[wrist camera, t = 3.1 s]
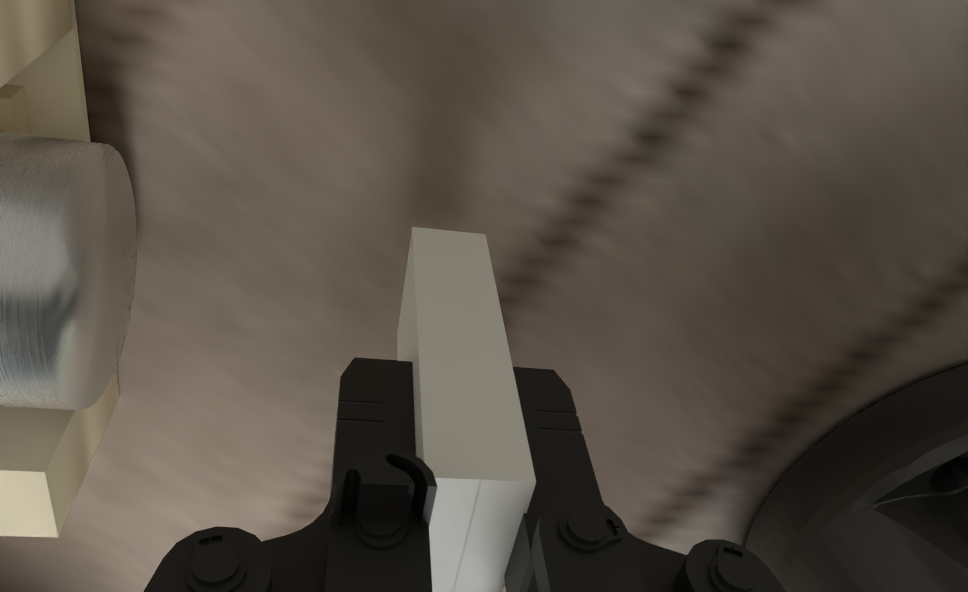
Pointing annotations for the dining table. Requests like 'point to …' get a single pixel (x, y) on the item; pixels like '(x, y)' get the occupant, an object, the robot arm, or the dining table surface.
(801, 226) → the dining table surface
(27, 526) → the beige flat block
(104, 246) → the axle
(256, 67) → the dining table surface
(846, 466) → the robot arm
